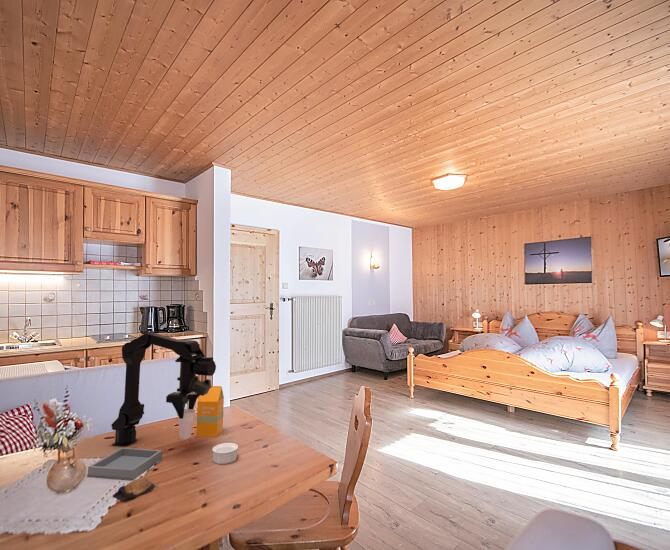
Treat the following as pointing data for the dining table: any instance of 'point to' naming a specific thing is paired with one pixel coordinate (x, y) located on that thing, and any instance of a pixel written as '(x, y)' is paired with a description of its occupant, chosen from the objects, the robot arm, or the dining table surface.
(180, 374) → the robot arm
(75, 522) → the dining table surface
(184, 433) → the smoothie
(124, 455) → the gray square tray
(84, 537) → the dining table surface
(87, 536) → the dining table surface
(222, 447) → the ramekin
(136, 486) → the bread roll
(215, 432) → the orange juice
